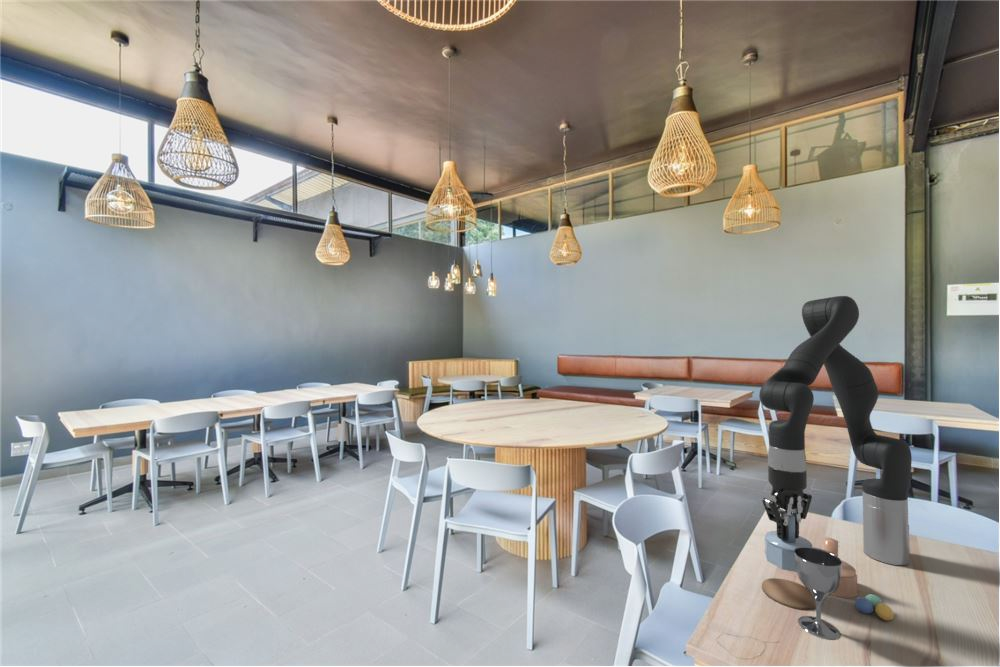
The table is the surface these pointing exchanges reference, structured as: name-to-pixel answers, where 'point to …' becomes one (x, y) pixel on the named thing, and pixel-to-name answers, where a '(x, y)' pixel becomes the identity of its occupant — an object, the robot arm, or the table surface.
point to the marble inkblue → (864, 605)
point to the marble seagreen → (874, 600)
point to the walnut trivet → (788, 593)
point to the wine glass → (818, 586)
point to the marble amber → (884, 611)
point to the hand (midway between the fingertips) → (787, 537)
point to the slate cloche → (784, 547)
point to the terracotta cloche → (843, 572)
